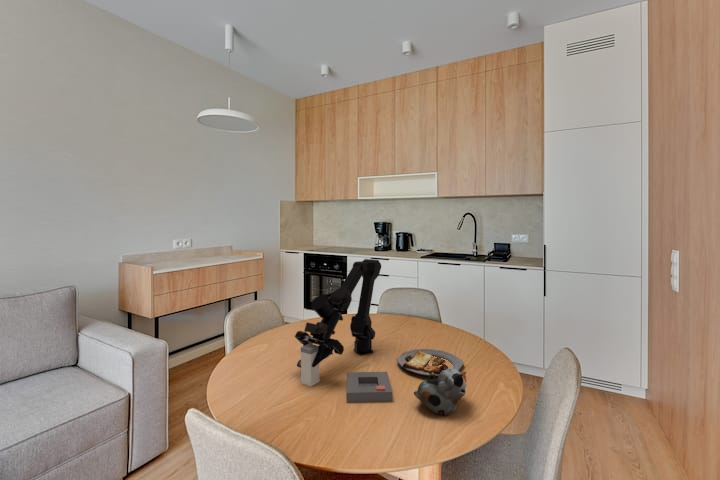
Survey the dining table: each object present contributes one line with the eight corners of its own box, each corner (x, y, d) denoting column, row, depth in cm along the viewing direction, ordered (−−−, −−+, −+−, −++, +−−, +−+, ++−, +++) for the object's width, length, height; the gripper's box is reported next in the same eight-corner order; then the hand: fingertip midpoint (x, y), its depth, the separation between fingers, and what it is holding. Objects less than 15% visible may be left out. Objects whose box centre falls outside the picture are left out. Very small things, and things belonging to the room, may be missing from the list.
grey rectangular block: (309, 378, 120) (309, 343, 119) (319, 381, 118) (319, 346, 117) (301, 383, 116) (300, 347, 116) (310, 386, 114) (310, 350, 113)
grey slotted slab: (346, 380, 118) (346, 370, 118) (387, 380, 119) (387, 369, 118) (346, 402, 104) (346, 390, 104) (392, 401, 105) (392, 390, 104)
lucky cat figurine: (425, 389, 112) (446, 353, 111) (456, 415, 105) (479, 377, 104) (406, 395, 100) (429, 354, 99) (440, 425, 93) (466, 382, 92)
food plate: (449, 386, 114) (449, 376, 113) (387, 371, 126) (387, 361, 126) (469, 362, 135) (469, 353, 135) (414, 351, 147) (414, 343, 147)
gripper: (297, 308, 124) (275, 348, 116) (338, 317, 114) (317, 360, 105) (312, 324, 131) (292, 362, 123) (352, 333, 121) (333, 375, 112)
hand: (307, 365), depth 115 cm, fingers closed on grey rectangular block, 4 cm apart
